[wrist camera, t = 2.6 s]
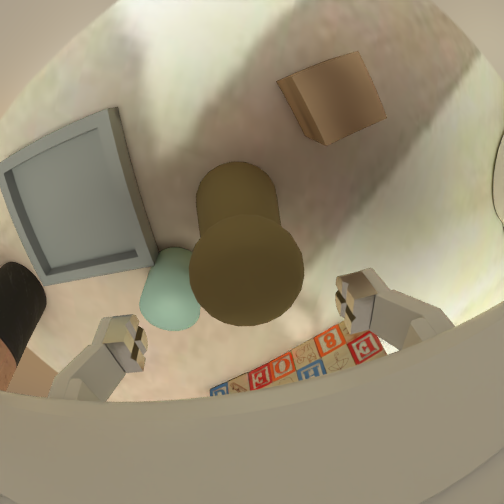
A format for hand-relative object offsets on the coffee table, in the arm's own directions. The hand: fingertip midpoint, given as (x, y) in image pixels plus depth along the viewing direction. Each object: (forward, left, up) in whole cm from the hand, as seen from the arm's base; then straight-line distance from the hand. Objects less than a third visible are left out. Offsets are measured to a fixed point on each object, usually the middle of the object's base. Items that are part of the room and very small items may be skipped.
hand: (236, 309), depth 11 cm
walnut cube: (-8, -7, -12) cm, 16 cm away
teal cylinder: (+5, +5, -12) cm, 14 cm away
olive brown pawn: (-1, 0, -12) cm, 12 cm away
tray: (+12, -3, -12) cm, 17 cm away
